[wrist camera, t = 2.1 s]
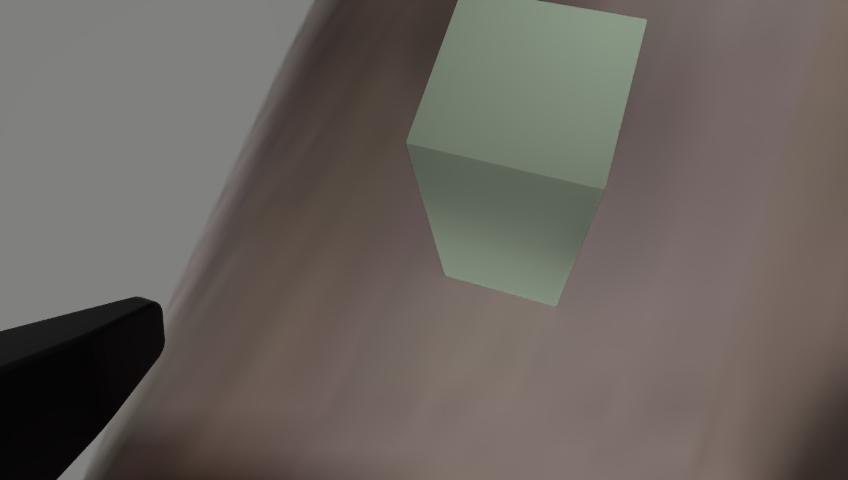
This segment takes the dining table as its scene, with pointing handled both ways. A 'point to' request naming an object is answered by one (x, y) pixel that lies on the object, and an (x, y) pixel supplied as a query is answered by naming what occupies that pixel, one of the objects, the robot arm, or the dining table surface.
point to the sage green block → (521, 138)
